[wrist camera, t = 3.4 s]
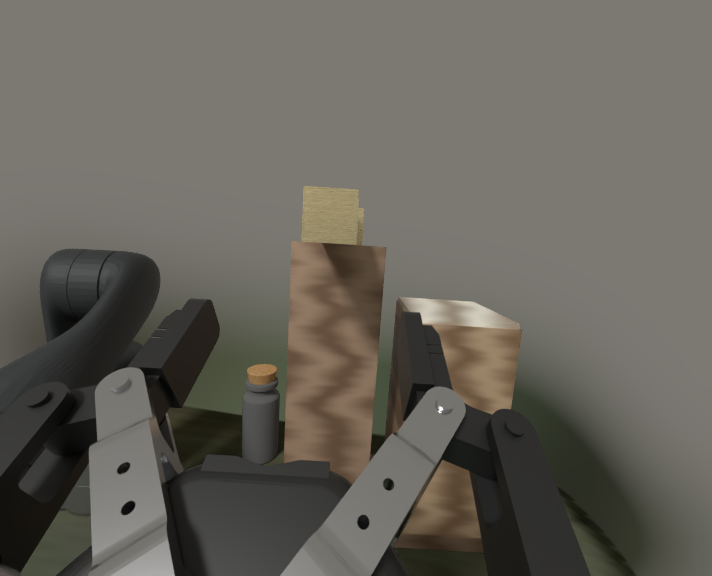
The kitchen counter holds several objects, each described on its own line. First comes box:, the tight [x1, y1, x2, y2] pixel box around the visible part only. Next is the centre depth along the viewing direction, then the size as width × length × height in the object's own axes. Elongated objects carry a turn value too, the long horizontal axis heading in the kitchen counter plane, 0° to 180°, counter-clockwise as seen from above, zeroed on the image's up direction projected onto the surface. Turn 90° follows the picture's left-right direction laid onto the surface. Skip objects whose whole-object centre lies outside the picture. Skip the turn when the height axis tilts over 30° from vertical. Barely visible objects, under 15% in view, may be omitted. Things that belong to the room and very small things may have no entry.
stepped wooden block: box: [284, 241, 522, 553], centre depth 42 cm, size 26×14×36 cm, turn 90°
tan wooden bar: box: [302, 186, 364, 246], centre depth 33 cm, size 5×26×5 cm, turn 0°
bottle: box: [242, 364, 280, 464], centre depth 52 cm, size 6×6×15 cm
